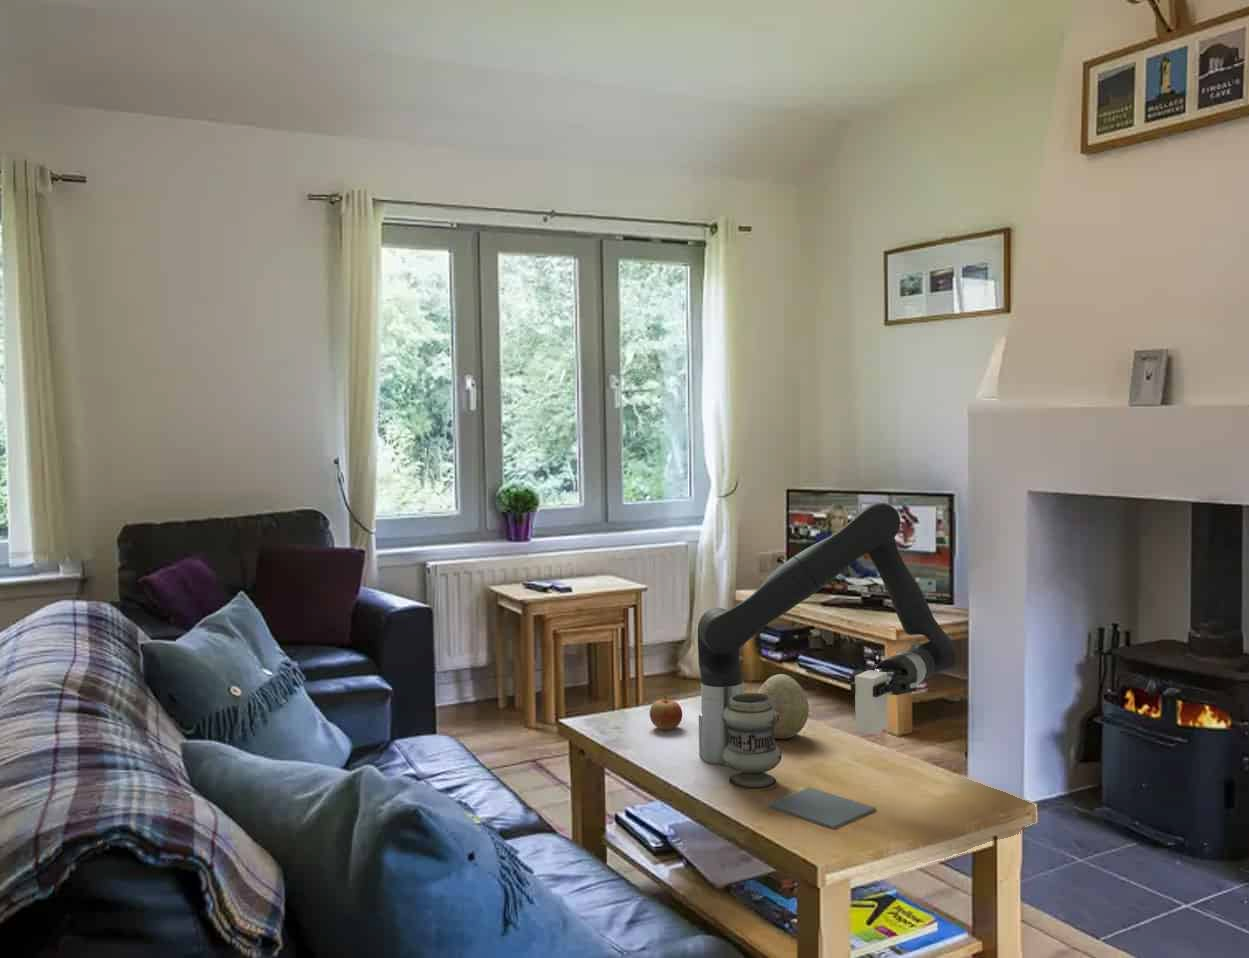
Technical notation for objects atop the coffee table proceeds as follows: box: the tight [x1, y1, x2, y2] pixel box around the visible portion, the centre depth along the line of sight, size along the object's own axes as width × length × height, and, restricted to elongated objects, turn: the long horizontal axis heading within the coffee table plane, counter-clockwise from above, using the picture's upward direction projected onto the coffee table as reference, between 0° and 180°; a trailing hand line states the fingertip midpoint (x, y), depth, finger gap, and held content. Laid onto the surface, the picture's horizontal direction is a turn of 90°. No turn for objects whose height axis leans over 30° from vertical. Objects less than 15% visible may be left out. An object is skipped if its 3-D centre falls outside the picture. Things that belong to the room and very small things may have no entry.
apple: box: [649, 695, 683, 730], centre depth 258 cm, size 8×8×8 cm
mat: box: [766, 786, 877, 829], centre depth 203 cm, size 16×13×1 cm
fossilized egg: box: [757, 673, 810, 740], centre depth 248 cm, size 13×13×15 cm
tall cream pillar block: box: [854, 669, 889, 735], centre depth 208 cm, size 4×6×11 cm, turn 141°
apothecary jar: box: [722, 692, 783, 792], centre depth 218 cm, size 12×12×18 cm
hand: (863, 690), depth 205 cm, fingers closed on tall cream pillar block, 4 cm apart
